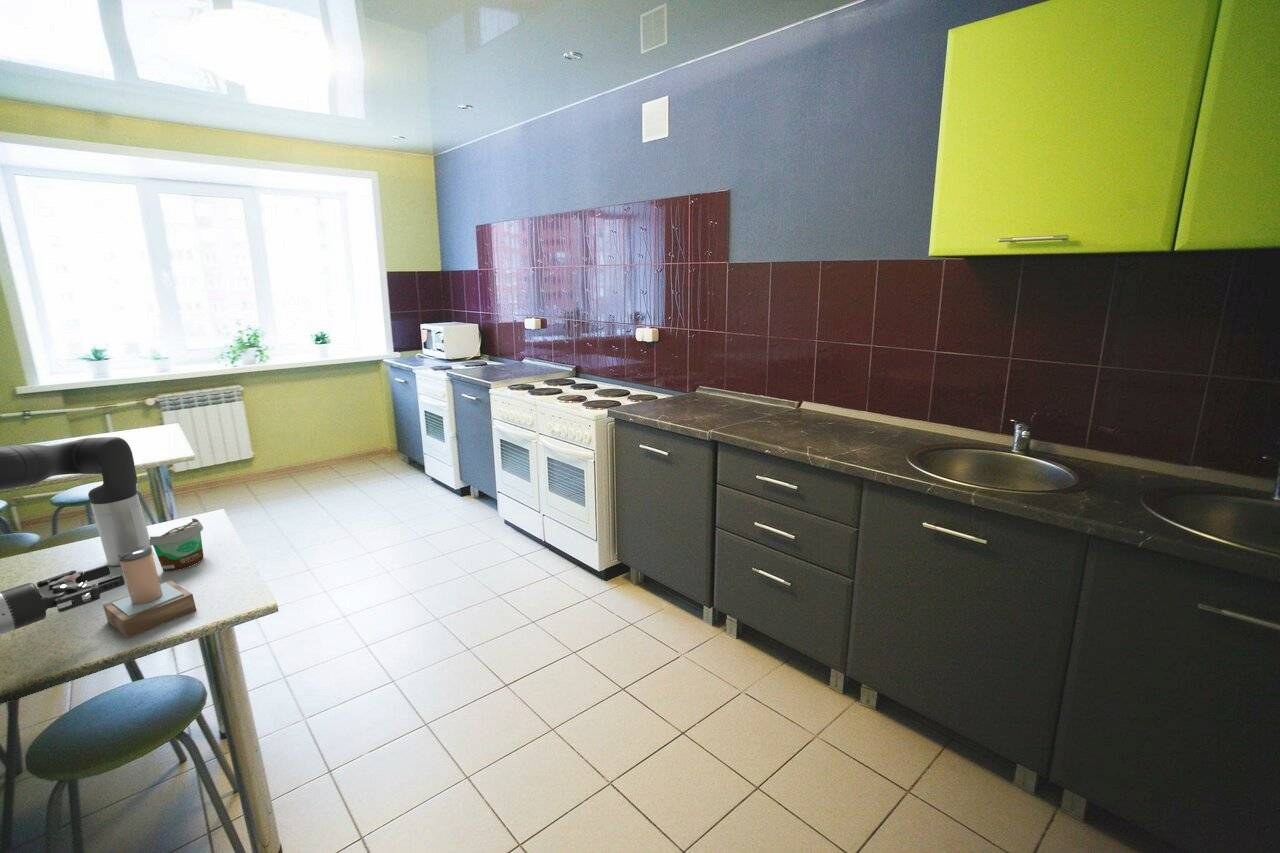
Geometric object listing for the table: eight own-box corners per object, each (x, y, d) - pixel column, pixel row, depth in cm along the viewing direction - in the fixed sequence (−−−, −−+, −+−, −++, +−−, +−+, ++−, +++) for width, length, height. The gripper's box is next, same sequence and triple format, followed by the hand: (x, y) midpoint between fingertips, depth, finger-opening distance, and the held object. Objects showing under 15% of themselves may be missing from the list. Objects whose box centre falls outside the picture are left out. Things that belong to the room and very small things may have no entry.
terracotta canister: (127, 601, 124) (113, 554, 121) (157, 589, 129) (145, 544, 126) (136, 607, 121) (123, 560, 119) (167, 595, 126) (155, 549, 123)
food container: (177, 576, 144) (168, 539, 141) (157, 574, 145) (147, 537, 142) (221, 553, 155) (213, 518, 153) (202, 551, 157) (194, 517, 154)
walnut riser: (107, 621, 125) (102, 603, 123) (174, 595, 134) (169, 579, 133) (128, 638, 118) (122, 619, 117) (196, 610, 128) (192, 592, 127)
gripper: (8, 604, 102) (124, 565, 115) (-12, 583, 110) (99, 550, 123) (20, 641, 104) (133, 599, 117) (0, 618, 112) (108, 581, 125)
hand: (116, 574), depth 120 cm, fingers open, 8 cm apart
